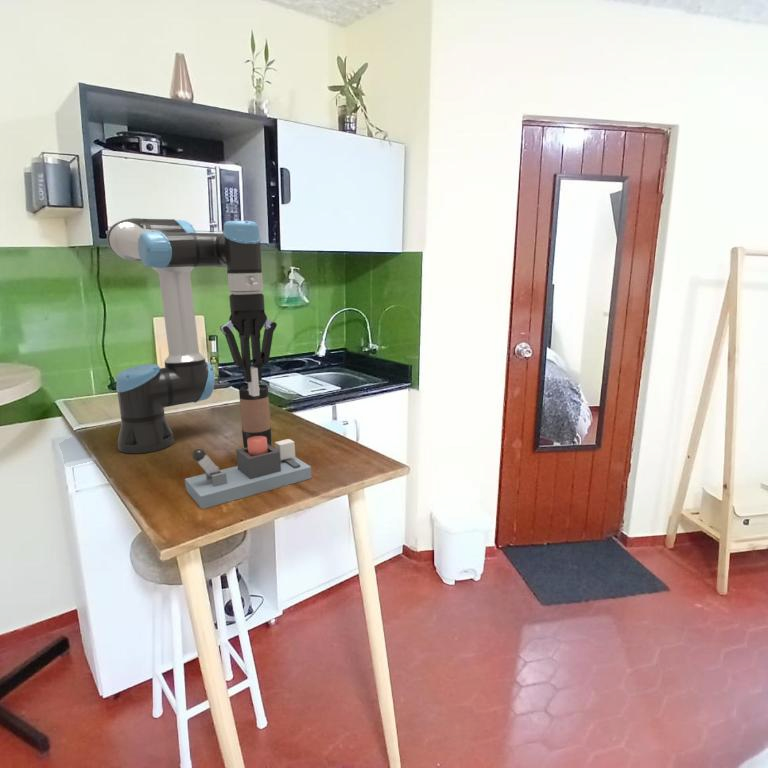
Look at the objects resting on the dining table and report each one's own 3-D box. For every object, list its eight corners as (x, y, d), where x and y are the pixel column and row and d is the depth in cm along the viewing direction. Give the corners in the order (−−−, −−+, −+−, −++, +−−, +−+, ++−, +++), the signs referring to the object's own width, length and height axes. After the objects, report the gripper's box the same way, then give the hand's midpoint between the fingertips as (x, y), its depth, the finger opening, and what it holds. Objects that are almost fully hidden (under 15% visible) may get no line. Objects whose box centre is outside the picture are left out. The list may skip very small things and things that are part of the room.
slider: (275, 456, 132) (274, 442, 131) (289, 453, 134) (289, 438, 133) (280, 460, 130) (279, 445, 129) (295, 456, 132) (294, 441, 131)
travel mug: (278, 457, 142) (274, 386, 138) (254, 465, 137) (249, 392, 132) (262, 451, 147) (257, 382, 142) (238, 458, 142) (232, 388, 137)
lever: (209, 477, 120) (188, 452, 116) (218, 469, 121) (198, 444, 117) (213, 481, 118) (192, 456, 114) (222, 472, 119) (202, 448, 115)
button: (245, 459, 126) (244, 438, 125) (263, 455, 128) (262, 434, 127) (253, 465, 122) (251, 443, 121) (271, 461, 125) (269, 439, 124)
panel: (185, 490, 122) (182, 458, 120) (289, 463, 138) (288, 435, 136) (202, 509, 113) (198, 475, 111) (311, 478, 128) (310, 447, 126)
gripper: (223, 294, 109) (233, 402, 115) (280, 292, 117) (286, 393, 122) (212, 293, 115) (221, 396, 121) (266, 291, 123) (273, 387, 128)
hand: (254, 394), depth 121 cm, fingers closed
